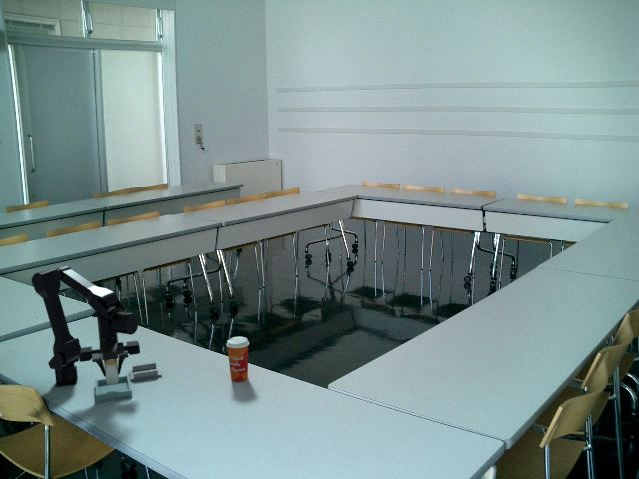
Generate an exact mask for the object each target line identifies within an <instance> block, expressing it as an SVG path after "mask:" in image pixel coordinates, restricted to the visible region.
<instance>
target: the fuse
mask: <svg viewBox="0 0 639 479" xmlns="http://www.w3.org/2000/svg"><path fill="white" fill-rule="evenodd" d="M103 363H104V368H105V374H106V377H105V379H106V383H107V384H116V383H118V382H119V376H120V375H118V358H117V359H111V360H107V361H104V360H103Z"/></svg>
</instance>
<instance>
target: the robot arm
mask: <svg viewBox="0 0 639 479" xmlns="http://www.w3.org/2000/svg"><path fill="white" fill-rule="evenodd" d="M61 282H62V283H64V284H65V285H67V286H68V287H69V288H71V289H72V290H74V291H75V292H77V293H78V294H79V295H80V296H82V297H83V298H85V299H86V300H87V302H88V305H89V307H91V308H92V309H93V310H94V312H93V313H92V314H91V317H93V318H97V329H98V340H99V348H96V349H93V346H87V347H86V346H85V347H82V346H81V343H80V339H79V338H78V337H77V338H75V337H74V336H73V335H71V331H70V330H69V329H70V328H69V324H68V322H67V318H66V315H65V312H64V308H63V304H62V302H61V297H60V291H61V290H60V289H61V286H62V285H61V284H62V283H61ZM31 284H32V287H33V288H34V290H35V293H36V294H37V295H39V297H41V298H42V299H43V303H44V306H45V310H46V313H47V315H48V320H49V323H50V326H51V329H52V330H51V331H52V335H53V336H54V342H53V345H52V354H53V356H52V357H51V359H50V360H49V361H47V362H48V363H47V365H48V366H49V369H51V370H54V376H55V387H63V386H71V385H76V384H77V381H78V380H79V376H78V366H77V365H75V363H78V362H81V363H82V362H90V361H91V362H92V363H96V364H97V366H98V367H99V368H100V371H101V373H102V375H103V377H105V378H106V374H105V364H104V361H107V360H111V359H117V365H118V376H121V371H122V367H123V364H124V361H125V359H127V358H129V355H130V356H132V355H139V354H141V347H140V341H139V340H131V341H126V344H125V345H124V342H123V341H121V342H119V337H118V335H119V334H124V335H130V336H131V335H134V334H136V332H137V330H138V328H139V320H138V319H137V317H136V316H134V314H133V312H126V308H125V306H124V304H123V303H122V302H121V301H120V299H119V298H118V294H116V292H114V291H113V290H110V289H108V288H107V287H101V286H97V285H95V284H94V283H92V282H91V281H89V280H87V279H86V278H85V277H83V276H82V275H80V274H79V273H77V272H76V271H75V270H73V269H72V267H71V266H69V265H63V266H60V267H57V268H55V269H54V268H48V269H45V270H41V271H38V272H35V273H33V276H32V277H31ZM118 333H119V334H118Z"/></svg>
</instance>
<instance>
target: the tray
mask: <svg viewBox="0 0 639 479" xmlns="http://www.w3.org/2000/svg"><path fill="white" fill-rule="evenodd" d="M118 376H119V382H118V383H116V384H107V383H106V378H100V379H95V380H94V382H95V383H94V385H95V401H96V403H102V402H108V401H114V400H115V401H116V400H121V399H127V398H132V397H133V390H132V389H133V388H132V384H131V379H130V374H127V375H118Z"/></svg>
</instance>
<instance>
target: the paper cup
mask: <svg viewBox="0 0 639 479" xmlns="http://www.w3.org/2000/svg"><path fill="white" fill-rule="evenodd" d="M226 342H227V343H225V344H226V347H227V354H228V362H229V363H228V364H229V371H230V380H231V381H232V382H234V383H242V382H243V383H244V382H245V381H247V380H248V378H249V345H250V342H249V340H248V338H247V337H244V336H233V337H231V338H229V339H228V340H227V341H226Z"/></svg>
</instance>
